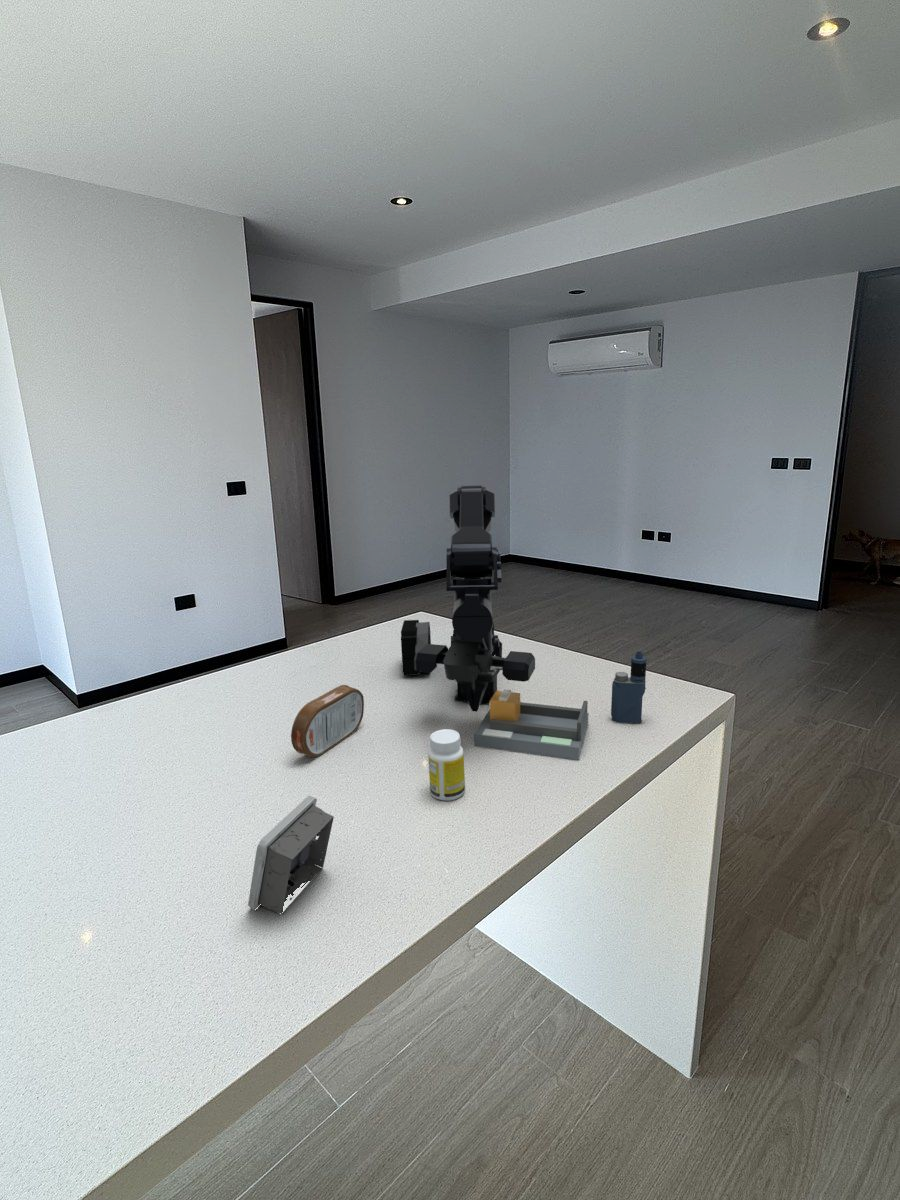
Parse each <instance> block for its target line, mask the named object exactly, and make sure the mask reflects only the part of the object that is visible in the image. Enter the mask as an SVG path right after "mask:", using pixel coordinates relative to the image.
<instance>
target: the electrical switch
mask: <svg viewBox="0 0 900 1200" xmlns="http://www.w3.org/2000/svg"><path fill="white" fill-rule="evenodd" d="M317 802H318V799H317V798H316V797H314V796H312V795H308V796H306V797H305V798H304V799H303V800H302V801H301V802H300V803H298V805H296V807H294V808H293V809H292V811H290V812H289V813H288V814H287V815H286V816H285V817H284V818H283V819H282V820H281V821H279V822H278V823H277V824H276V825H274V827H273V828H272V829H271V830H270V831H268V833H266V834H265V835H264V836H263V837H262V838H261V839H260V841H259V843H258V845H257V847H256V851H255V852H256V853H255V857H254V866H253V872H252V877H251V883H250V890H249V896H248V904H247V906H248V907H249V908H250V909H252V911H254V910H255V909H256V908H257V907H258V906H259V905H260V904H261V906H262V907H265V908H266V909H268V910H271V911H273V912H275V913H277V912H278V913H277V914H279V913H281V914H282V912H283V906H284V902H285V901H286V900H287V899H286V898H287V897H288V895H290V894H291V895H292V896H293V895H294V894H293V892H294V891H295V890H296V889H297V888H299V887H300V885H301V884H302V883H305V882H306V883H307V882H308V881H311V880H312V879H313V878H314V876H315V875H316V874H317V875H319V873H320V872H321V871H322V870H323V868H324V865H325V859H326V857H327V856H326V855H327V851H328V847H329V841H330V838H331V837H330V836H331V832H332V827H333V822H334V819H335V817H334V815H331V814H329V813H328V812H325V810H323V809H322V808H320V807H318V806H316V805H317ZM317 837H318V838H317ZM321 869H322V870H321ZM317 875H316V876H317ZM316 876H315V877H316ZM314 879H315V878H314ZM314 879H313V880H314ZM313 880H312V881H313ZM289 881H291V882H292V883H293V884H294V885H292V886H291V885H289V883H288V882H289ZM312 881H311V882H312ZM306 883H305V884H306ZM305 884H304V885H305ZM304 885H303V886H304ZM303 886H302V887H303ZM302 887H301V888H302ZM282 915H283V914H282Z"/></svg>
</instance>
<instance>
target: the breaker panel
mask: <svg viewBox="0 0 900 1200" xmlns="http://www.w3.org/2000/svg"><path fill="white" fill-rule="evenodd" d="M588 705H589V704H588V700H583V702H582V705H581V708H576V707H568V706H567V707H566V706H558V705H549V704H540V703H530V702H523V701H520V717H519V719H518V721H517V722H516V721H508V720H500V719H491V720H490V708H489V709H488V711H487V712H486V714H485V716H484V718H483V719H482V721H481V722H480V723H479V726H478V727H477V729H476V731H475V732H474V733H473V737H474V738H473V742H474V744H473V745H474V747H480V748H485V749H486V748H487V749H494V750H502V751H510V752H514V753H515V752H516V753H522V754H523V753H524V754H530V755H538V756H539V755H540V756H545V757H546V756H547V757H553V758H559V759H561V758H562V759H567V760H573V761H574V760H575V761H579V760H580V757H581V753H582V749H583V746H582V745H583V744H584V741H585V737H586V733H587V729H588V725H589V716H590V715H589V712H588Z"/></svg>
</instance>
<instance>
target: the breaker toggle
mask: <svg viewBox="0 0 900 1200" xmlns="http://www.w3.org/2000/svg"><path fill="white" fill-rule="evenodd" d="M520 702H521V693H520V692H514V691H512V689H509V688H508V689H507V688H503V690H497V691H496V692H495V693H494V695H493V696H492V698H491V700H490V702H489V709H490V720H491V719H500V720H508V721H516V722H517V721H518V719H519V717H520Z"/></svg>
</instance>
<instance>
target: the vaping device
mask: <svg viewBox="0 0 900 1200" xmlns="http://www.w3.org/2000/svg"><path fill="white" fill-rule="evenodd" d="M643 654H644V653H643V652H642V651H636V652H635V655H632V656H631V659H630V660H631V661H630V662H631V663H630V676H629V674H628V672H625V671H617V672H615V676H614V678H613V681H612V685H611V686H612V687H611V703H610V705H611V708H610V712H611V713H610V715H611V718H612V720H613V722H615V723H618V722H619V723H623V724H642V722H643V721H642V720H643V719H642V716H643V715H642V713H643V709H642V708H643V696H644V695H645V693H646V689H647V688H646V682H647V681H646V676H647V674H646V673H647V657H646V656H644V655H643Z"/></svg>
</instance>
